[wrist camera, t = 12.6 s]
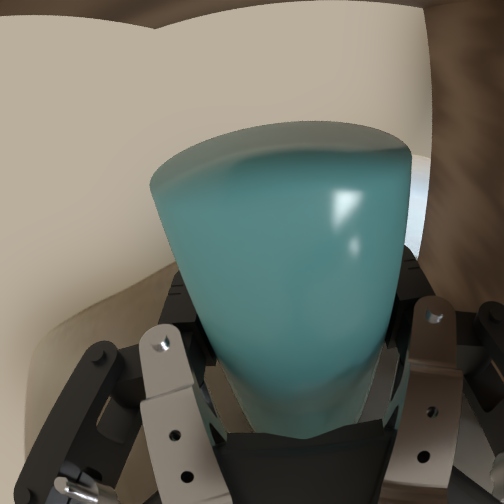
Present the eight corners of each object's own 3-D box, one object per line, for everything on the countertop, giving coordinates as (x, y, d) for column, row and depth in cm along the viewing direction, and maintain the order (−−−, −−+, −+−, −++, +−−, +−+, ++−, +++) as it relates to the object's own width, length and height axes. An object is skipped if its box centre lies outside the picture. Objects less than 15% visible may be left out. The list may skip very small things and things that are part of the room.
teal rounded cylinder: (293, 333, 16) (263, 118, 9) (385, 379, 12) (434, 135, 6) (220, 407, 13) (110, 185, 6) (316, 475, 9) (325, 259, 3)
